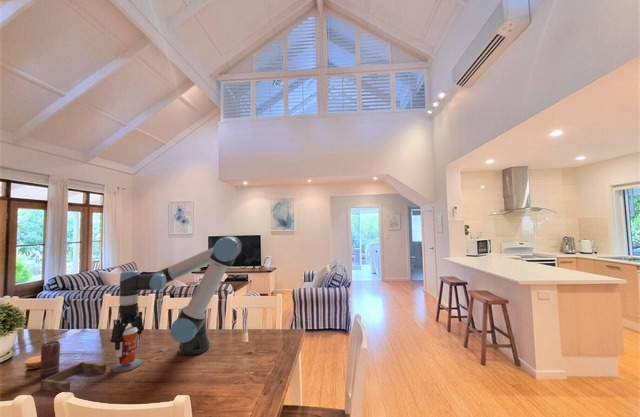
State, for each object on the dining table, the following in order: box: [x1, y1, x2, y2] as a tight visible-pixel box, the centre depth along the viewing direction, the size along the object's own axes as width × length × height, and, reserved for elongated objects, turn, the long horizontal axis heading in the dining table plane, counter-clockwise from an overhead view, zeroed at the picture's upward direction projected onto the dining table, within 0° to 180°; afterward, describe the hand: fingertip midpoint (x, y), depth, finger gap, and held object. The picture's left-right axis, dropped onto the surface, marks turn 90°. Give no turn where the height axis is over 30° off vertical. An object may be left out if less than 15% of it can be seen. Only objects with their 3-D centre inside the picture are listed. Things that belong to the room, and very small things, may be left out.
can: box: [39, 340, 61, 380], centre depth 127 cm, size 6×6×14 cm
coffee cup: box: [118, 326, 138, 364], centre depth 135 cm, size 8×8×15 cm
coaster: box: [111, 358, 143, 373], centre depth 134 cm, size 12×12×1 cm
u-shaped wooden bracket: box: [40, 361, 107, 393], centre depth 122 cm, size 14×16×4 cm
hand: (127, 352), depth 135 cm, fingers closed on coffee cup, 8 cm apart
